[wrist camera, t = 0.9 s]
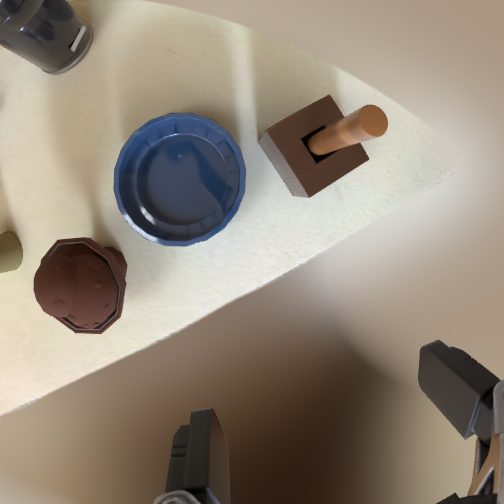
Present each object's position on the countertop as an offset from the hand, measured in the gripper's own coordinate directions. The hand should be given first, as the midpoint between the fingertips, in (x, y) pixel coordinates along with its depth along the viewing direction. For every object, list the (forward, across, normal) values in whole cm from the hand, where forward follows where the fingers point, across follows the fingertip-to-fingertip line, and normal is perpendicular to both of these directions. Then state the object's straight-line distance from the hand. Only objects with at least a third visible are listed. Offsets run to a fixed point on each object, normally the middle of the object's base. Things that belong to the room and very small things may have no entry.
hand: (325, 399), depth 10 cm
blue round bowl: (+29, +6, -10) cm, 32 cm away
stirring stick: (+29, -8, -10) cm, 32 cm away
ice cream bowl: (+30, +20, -2) cm, 36 cm away
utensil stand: (+29, -8, -10) cm, 32 cm away
